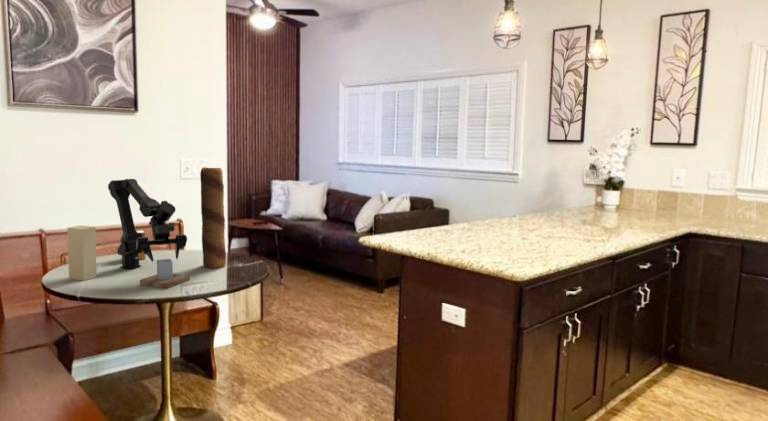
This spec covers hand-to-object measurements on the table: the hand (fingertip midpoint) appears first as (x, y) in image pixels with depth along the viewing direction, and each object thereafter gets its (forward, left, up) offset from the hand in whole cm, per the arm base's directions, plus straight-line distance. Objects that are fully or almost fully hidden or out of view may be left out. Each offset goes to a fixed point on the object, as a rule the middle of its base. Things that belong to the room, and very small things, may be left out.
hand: (165, 259), depth 214 cm
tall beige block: (-35, -6, -10) cm, 37 cm away
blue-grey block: (-1, +1, -8) cm, 8 cm away
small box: (-41, +29, -10) cm, 51 cm away
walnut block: (-1, +1, -10) cm, 10 cm away
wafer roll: (0, +32, -10) cm, 33 cm away
